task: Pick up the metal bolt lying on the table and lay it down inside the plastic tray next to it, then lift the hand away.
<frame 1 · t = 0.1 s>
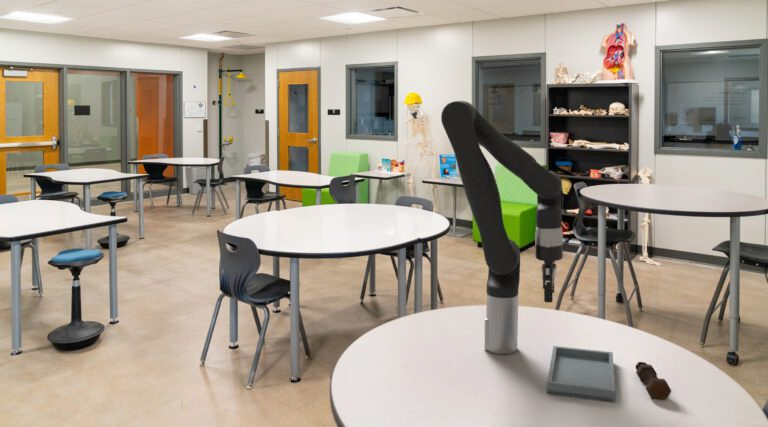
hand: (549, 297, 172), 17 cm above the table, tool pointing down, fingers open, 8 cm apart
bolt: (650, 387, 154), on the table
tray: (581, 377, 159), on the table
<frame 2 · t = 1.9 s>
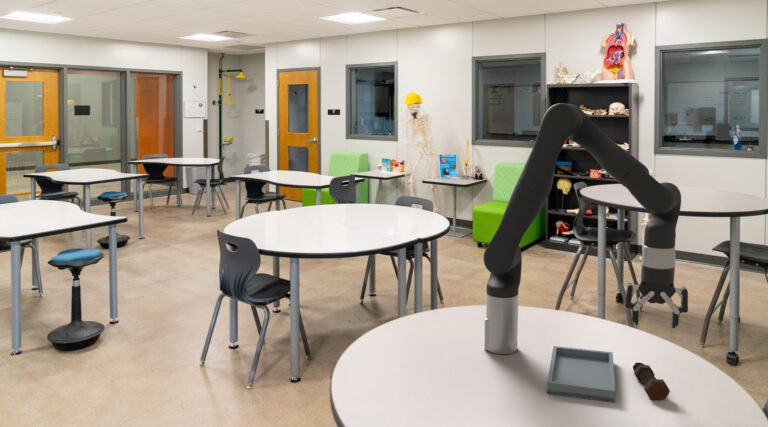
hand: (654, 325, 151), 16 cm above the table, tool pointing down, fingers open, 8 cm apart
nothing on the table moved.
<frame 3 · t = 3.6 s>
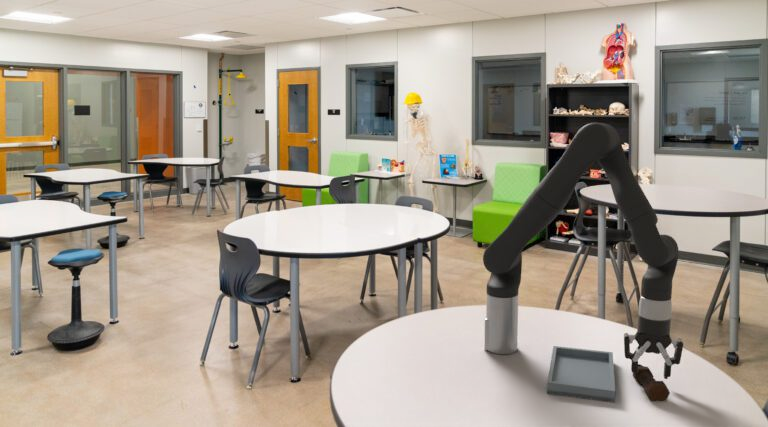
hand: (650, 375, 153), 3 cm above the table, tool pointing down, fingers open, 6 cm apart
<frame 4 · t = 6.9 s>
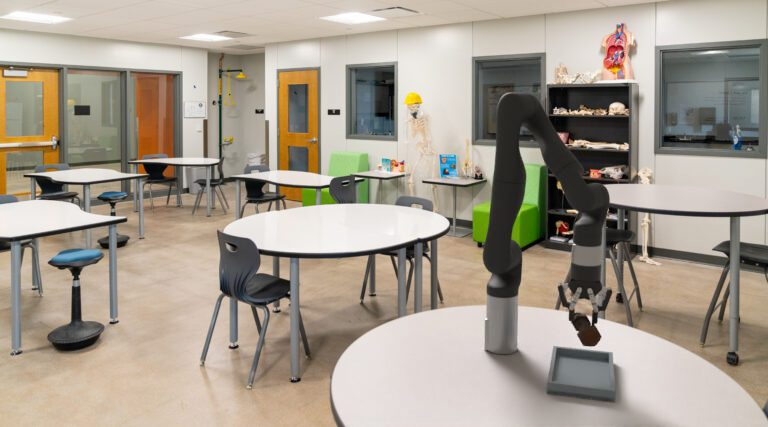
hand: (582, 323, 157), 15 cm above the table, tool pointing down, fingers closed on bolt, 4 cm apart
bolt: (583, 335, 157), point 12 cm above the table, touching gripper
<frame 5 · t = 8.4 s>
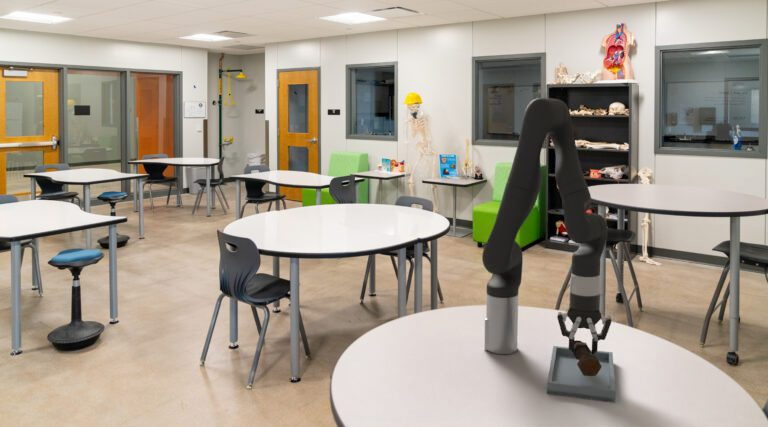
hand: (582, 352, 158), 7 cm above the table, tool pointing down, fingers closed on bolt, 4 cm apart
bolt: (583, 364, 158), point 4 cm above the table, touching gripper
when the fingers open (5 cm above the table, at t = 9.7 s): bolt stays where it is, resting on tray.
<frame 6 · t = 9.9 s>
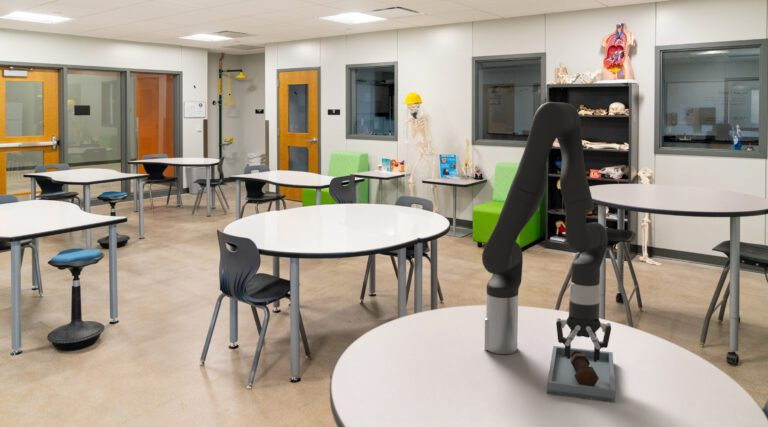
hand: (581, 359, 159), 5 cm above the table, tool pointing down, fingers open, 6 cm apart
bolt: (582, 375, 159), point 1 cm above the table, touching tray
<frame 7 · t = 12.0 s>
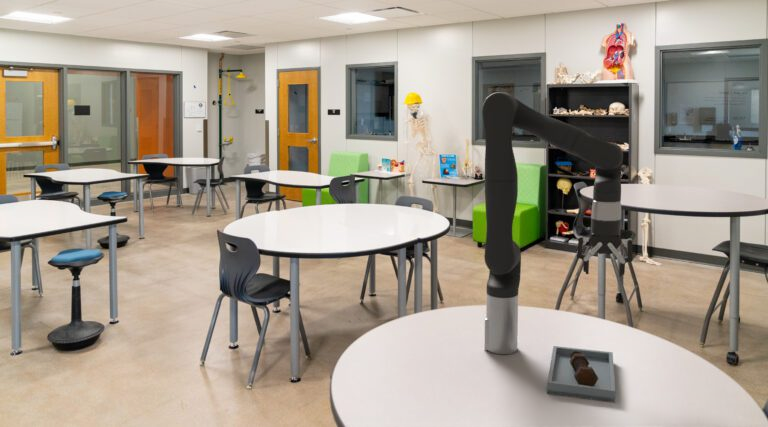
hand: (603, 274, 164), 25 cm above the table, tool pointing down, fingers open, 8 cm apart
nothing on the table moved.
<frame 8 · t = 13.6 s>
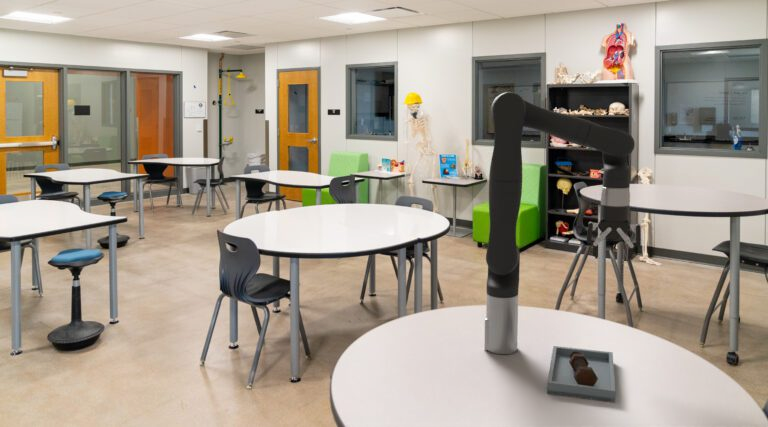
hand: (612, 259, 170), 28 cm above the table, tool pointing down, fingers open, 8 cm apart
nothing on the table moved.
at the end: bolt inside the target area on the tray (1.0 cm from its centre), point 0.8 cm above the tray's base; the gripper is holding nothing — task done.
